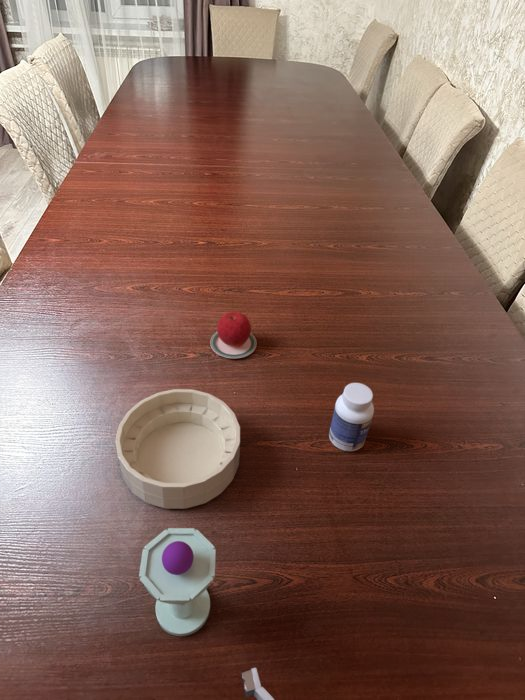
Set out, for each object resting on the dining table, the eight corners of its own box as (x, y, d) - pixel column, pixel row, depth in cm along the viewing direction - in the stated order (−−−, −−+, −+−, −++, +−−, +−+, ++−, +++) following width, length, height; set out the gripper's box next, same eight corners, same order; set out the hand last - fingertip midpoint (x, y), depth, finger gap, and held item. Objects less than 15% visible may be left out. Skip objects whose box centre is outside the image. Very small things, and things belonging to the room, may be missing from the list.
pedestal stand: (146, 643, 55) (135, 600, 48) (154, 575, 60) (145, 527, 53) (214, 642, 56) (213, 600, 48) (216, 575, 61) (216, 528, 54)
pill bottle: (360, 457, 75) (374, 412, 68) (324, 445, 76) (334, 400, 69) (368, 430, 78) (381, 385, 72) (333, 419, 80) (344, 374, 73)
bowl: (111, 510, 66) (104, 486, 62) (131, 413, 78) (126, 387, 74) (238, 511, 67) (239, 487, 63) (239, 414, 79) (240, 390, 75)
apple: (202, 352, 89) (201, 322, 84) (222, 325, 94) (222, 296, 90) (245, 366, 87) (246, 336, 83) (263, 337, 93) (265, 308, 88)
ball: (161, 579, 50) (159, 567, 48) (164, 548, 52) (162, 535, 50) (192, 579, 50) (192, 567, 48) (194, 548, 52) (194, 536, 50)
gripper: (372, 836, 39) (308, 641, 48) (86, 957, 34) (78, 712, 43) (357, 844, 43) (301, 664, 53) (101, 952, 38) (91, 731, 48)
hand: (198, 686), depth 48 cm, fingers open, 8 cm apart
